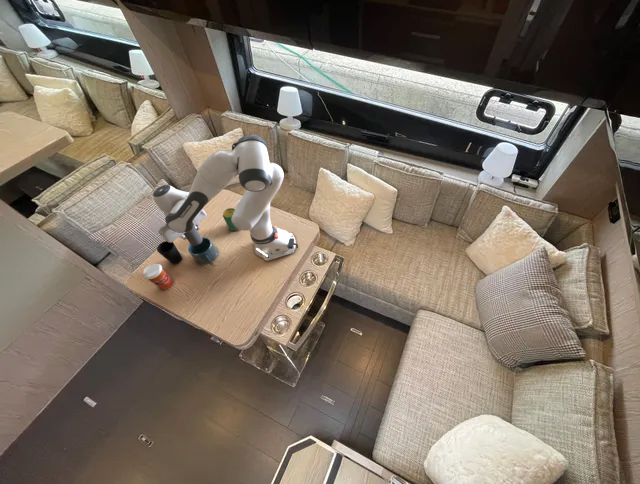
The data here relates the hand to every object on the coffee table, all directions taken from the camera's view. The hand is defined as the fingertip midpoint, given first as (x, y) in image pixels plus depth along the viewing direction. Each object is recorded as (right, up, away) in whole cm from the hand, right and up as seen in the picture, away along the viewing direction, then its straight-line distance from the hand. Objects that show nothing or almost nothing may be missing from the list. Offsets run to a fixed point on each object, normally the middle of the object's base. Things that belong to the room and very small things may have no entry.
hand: (191, 233), depth 133 cm
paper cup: (-15, -25, +4) cm, 29 cm away
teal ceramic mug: (0, -13, +14) cm, 19 cm away
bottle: (0, -4, +5) cm, 6 cm away
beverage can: (+9, +3, +28) cm, 30 cm away
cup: (-15, -14, +13) cm, 25 cm away
